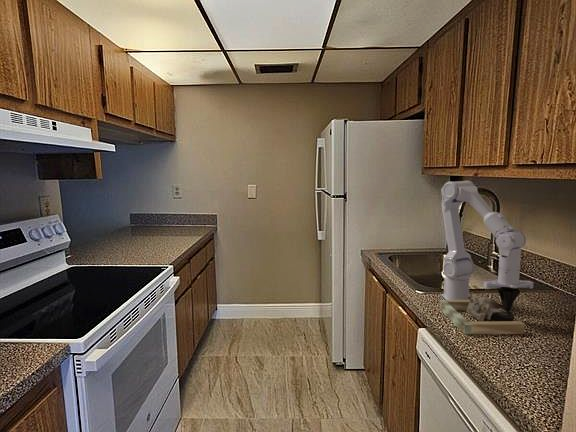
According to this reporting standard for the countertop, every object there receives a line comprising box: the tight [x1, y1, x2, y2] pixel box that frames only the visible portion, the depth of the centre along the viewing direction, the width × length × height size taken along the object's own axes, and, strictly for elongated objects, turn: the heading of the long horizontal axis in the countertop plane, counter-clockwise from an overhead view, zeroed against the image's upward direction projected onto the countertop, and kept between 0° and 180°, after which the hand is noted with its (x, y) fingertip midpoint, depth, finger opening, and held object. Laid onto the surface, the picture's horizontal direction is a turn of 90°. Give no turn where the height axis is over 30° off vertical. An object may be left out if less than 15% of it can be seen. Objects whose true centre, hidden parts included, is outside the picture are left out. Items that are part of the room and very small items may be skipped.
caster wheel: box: [465, 293, 515, 322], centre depth 117 cm, size 7×11×10 cm
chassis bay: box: [438, 299, 526, 335], centre depth 117 cm, size 20×18×3 cm
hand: (506, 309), depth 117 cm, fingers closed
